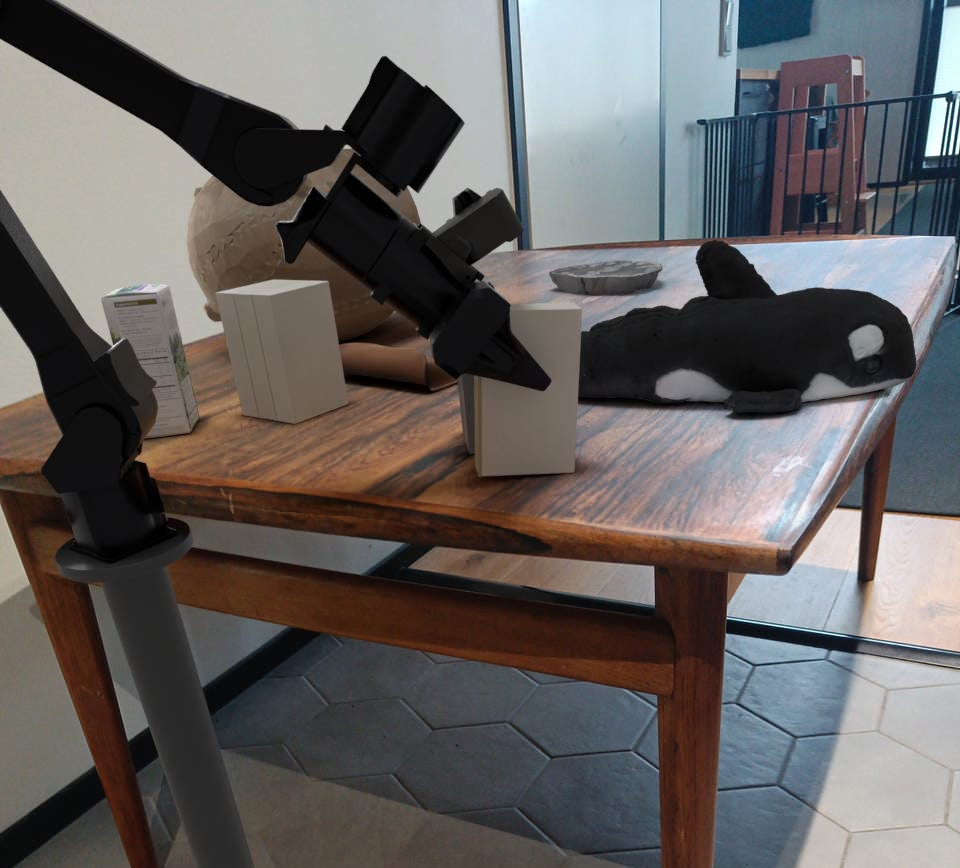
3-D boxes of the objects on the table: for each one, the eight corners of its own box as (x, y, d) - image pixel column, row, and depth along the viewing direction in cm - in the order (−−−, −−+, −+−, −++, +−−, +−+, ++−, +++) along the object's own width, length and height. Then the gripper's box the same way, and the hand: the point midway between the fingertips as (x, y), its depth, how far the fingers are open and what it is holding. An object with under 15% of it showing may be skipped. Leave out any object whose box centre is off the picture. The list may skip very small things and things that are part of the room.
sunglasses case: (475, 371, 105) (451, 327, 100) (445, 415, 103) (419, 372, 98) (370, 360, 115) (344, 320, 110) (341, 400, 113) (312, 360, 108)
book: (478, 477, 73) (477, 310, 67) (474, 465, 76) (473, 304, 69) (574, 473, 74) (582, 308, 67) (567, 462, 76) (574, 302, 70)
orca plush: (893, 429, 76) (920, 246, 69) (480, 403, 95) (467, 258, 87) (921, 367, 92) (946, 213, 85) (562, 355, 110) (557, 229, 103)
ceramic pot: (219, 377, 117) (169, 163, 104) (203, 336, 145) (163, 163, 132) (459, 339, 125) (440, 136, 112) (400, 307, 153) (380, 141, 140)
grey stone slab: (686, 280, 151) (686, 261, 150) (631, 298, 140) (631, 278, 139) (591, 277, 163) (591, 259, 161) (534, 293, 152) (533, 275, 151)
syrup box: (149, 425, 99) (111, 287, 92) (202, 419, 99) (168, 281, 92) (138, 440, 94) (96, 296, 87) (194, 433, 94) (157, 289, 87)
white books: (295, 424, 94) (269, 295, 88) (242, 415, 99) (215, 292, 93) (348, 404, 99) (328, 280, 93) (296, 396, 104) (273, 279, 98)
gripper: (459, 152, 54) (641, 313, 60) (437, 150, 70) (582, 277, 76) (356, 305, 58) (537, 443, 64) (358, 270, 74) (502, 382, 80)
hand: (542, 378), depth 71 cm, fingers closed on book, 5 cm apart
